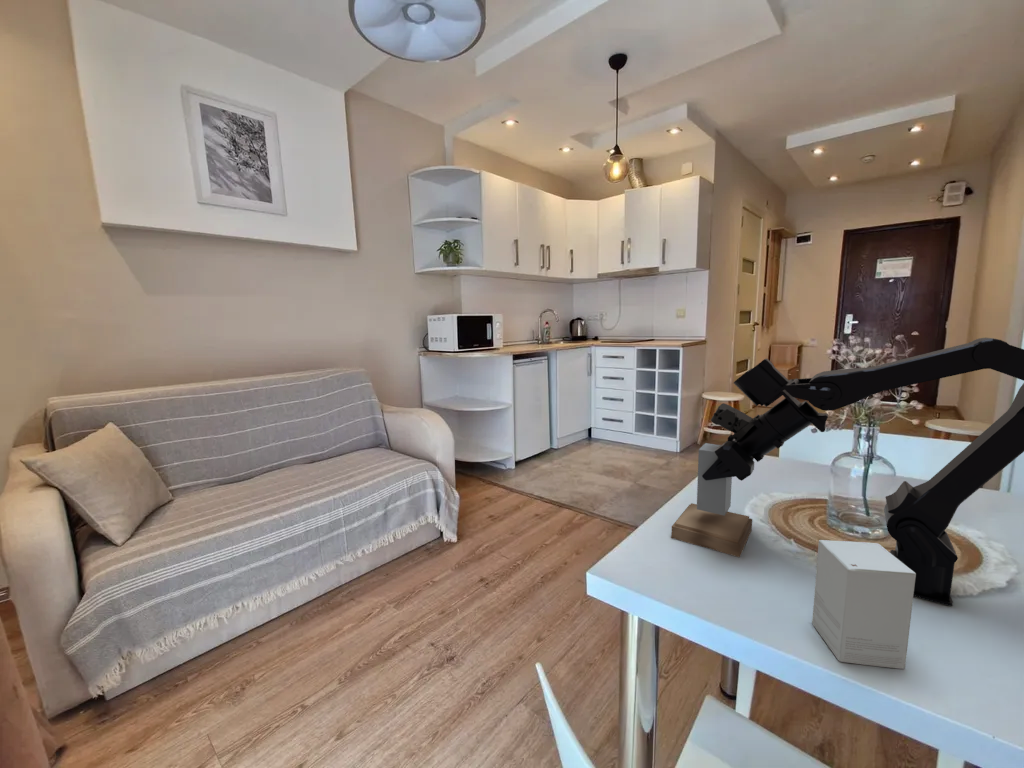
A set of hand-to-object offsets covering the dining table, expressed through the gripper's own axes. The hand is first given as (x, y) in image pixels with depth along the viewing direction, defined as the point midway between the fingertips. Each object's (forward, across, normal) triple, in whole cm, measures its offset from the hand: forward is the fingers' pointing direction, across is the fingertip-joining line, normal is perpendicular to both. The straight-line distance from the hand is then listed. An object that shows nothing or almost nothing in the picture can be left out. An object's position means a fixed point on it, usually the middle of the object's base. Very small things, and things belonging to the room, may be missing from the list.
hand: (707, 473), depth 84 cm
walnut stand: (+8, 0, +10) cm, 12 cm away
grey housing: (+4, 0, +6) cm, 7 cm away
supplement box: (-8, +20, +25) cm, 33 cm away
